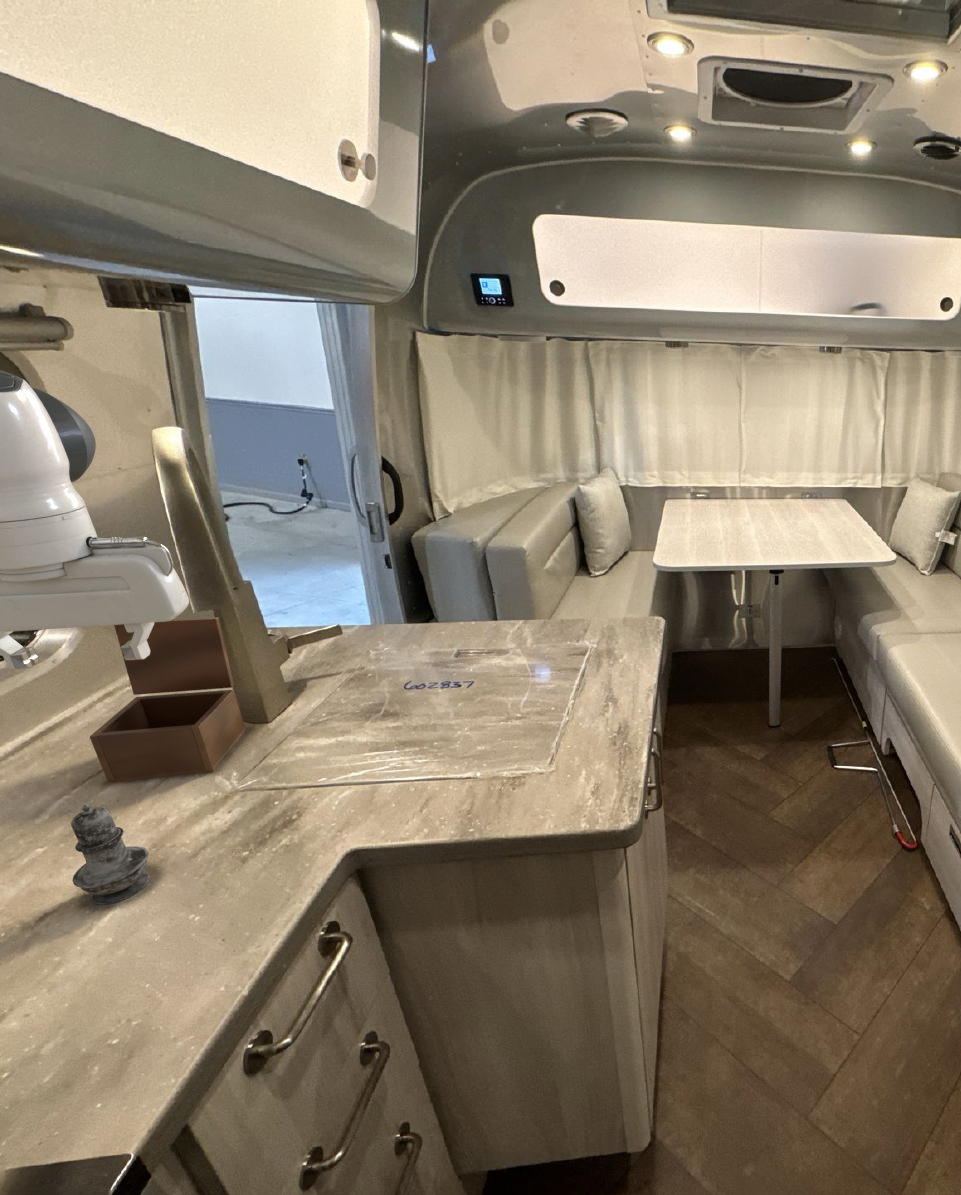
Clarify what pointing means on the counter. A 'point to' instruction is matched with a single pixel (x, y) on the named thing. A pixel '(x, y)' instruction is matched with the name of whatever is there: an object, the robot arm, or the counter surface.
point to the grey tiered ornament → (107, 858)
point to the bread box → (169, 735)
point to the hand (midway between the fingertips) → (83, 661)
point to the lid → (180, 657)
